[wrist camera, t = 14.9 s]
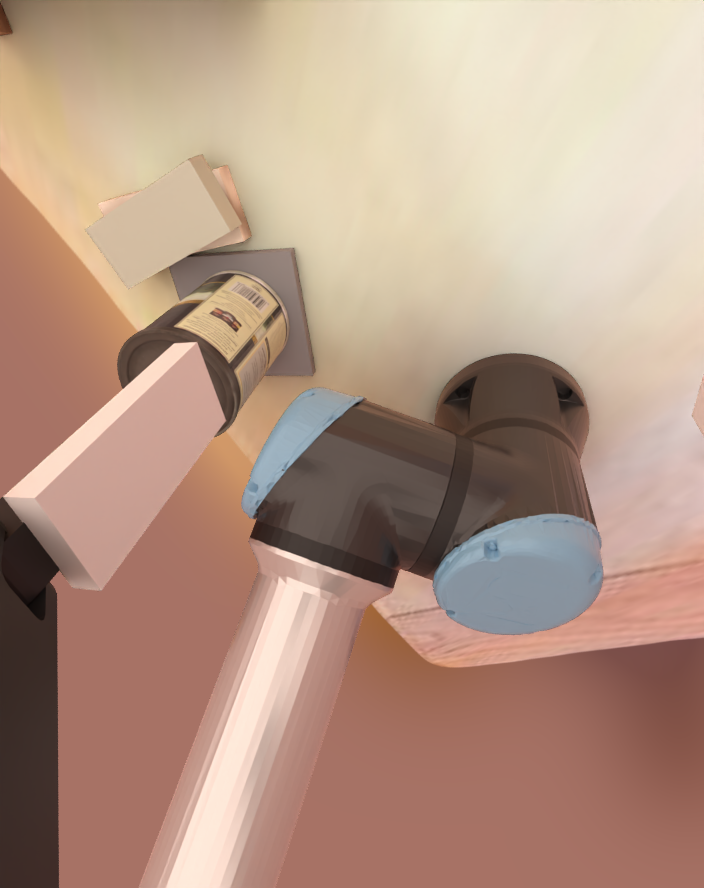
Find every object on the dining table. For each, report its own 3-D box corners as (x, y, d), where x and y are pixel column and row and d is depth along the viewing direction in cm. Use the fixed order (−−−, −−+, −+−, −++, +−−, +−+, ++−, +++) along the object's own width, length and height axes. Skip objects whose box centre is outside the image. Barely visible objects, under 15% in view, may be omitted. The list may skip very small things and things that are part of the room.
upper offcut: (241, 224, 44) (230, 231, 42) (142, 280, 50) (128, 289, 48) (202, 154, 41) (188, 158, 39) (101, 222, 47) (84, 229, 45)
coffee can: (198, 352, 54) (126, 424, 43) (193, 259, 48) (106, 316, 37) (287, 374, 54) (237, 453, 43) (294, 282, 47) (236, 347, 36)
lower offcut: (254, 234, 47) (244, 241, 45) (142, 260, 51) (129, 267, 49) (230, 164, 44) (218, 168, 42) (113, 198, 48) (97, 203, 46)
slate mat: (315, 371, 54) (312, 375, 53) (208, 371, 57) (204, 375, 56) (293, 248, 46) (290, 251, 45) (171, 255, 49) (166, 258, 48)
